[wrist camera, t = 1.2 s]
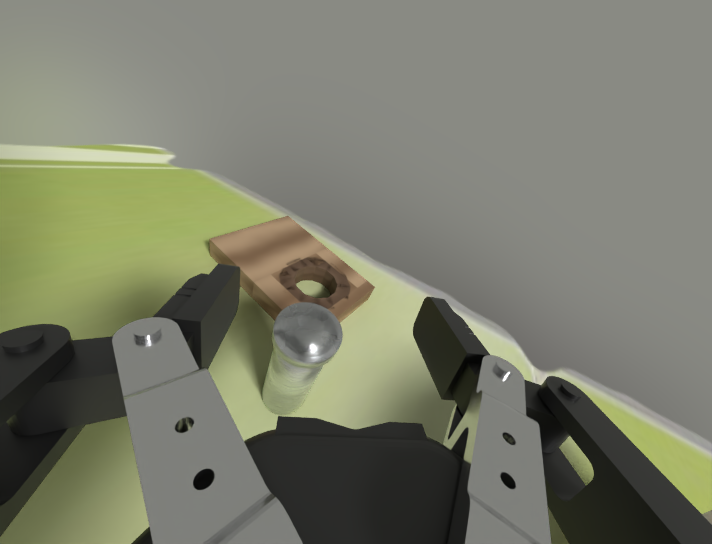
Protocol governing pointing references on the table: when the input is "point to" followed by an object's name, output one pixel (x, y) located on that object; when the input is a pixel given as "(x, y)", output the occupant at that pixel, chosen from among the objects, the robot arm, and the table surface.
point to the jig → (289, 267)
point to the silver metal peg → (299, 354)
